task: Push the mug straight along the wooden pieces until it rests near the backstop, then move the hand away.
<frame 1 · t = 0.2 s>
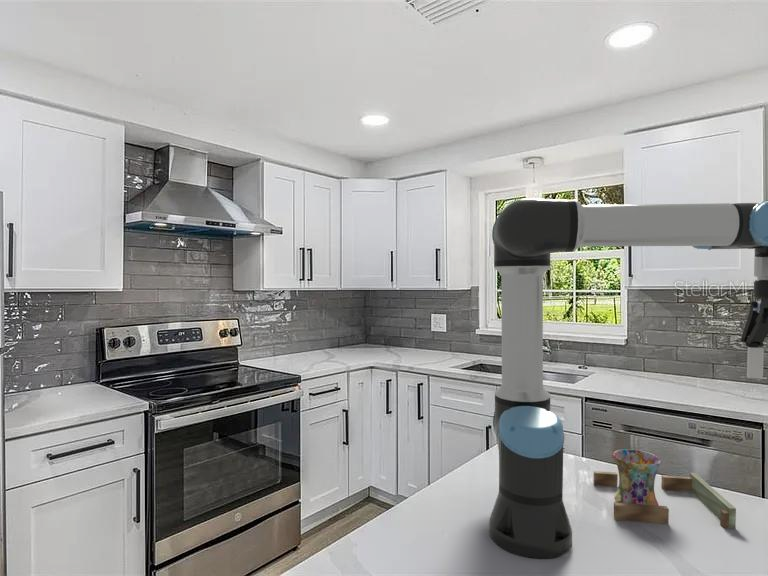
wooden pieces: (657, 503, 108), on the countertop
mug: (632, 503, 109), on the countertop
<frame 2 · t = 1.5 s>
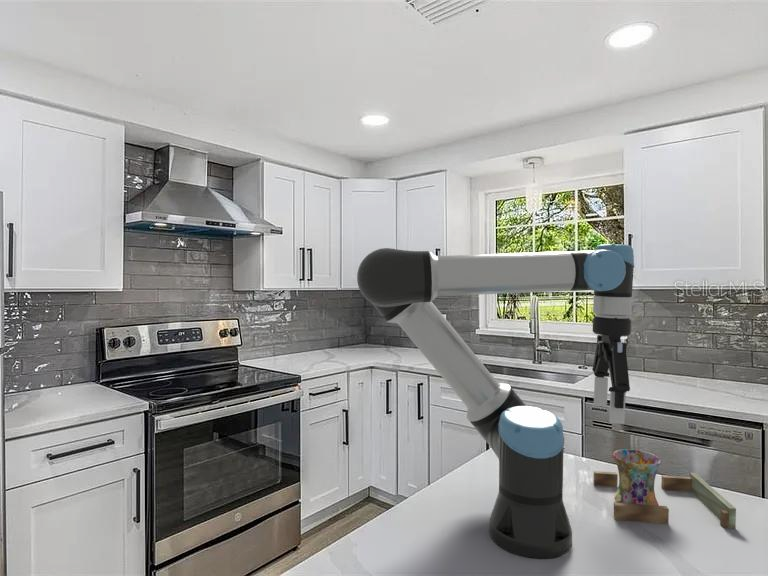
hand: (607, 413, 108), 19 cm above the countertop, fingers open, 13 cm apart
nothing on the countertop moved.
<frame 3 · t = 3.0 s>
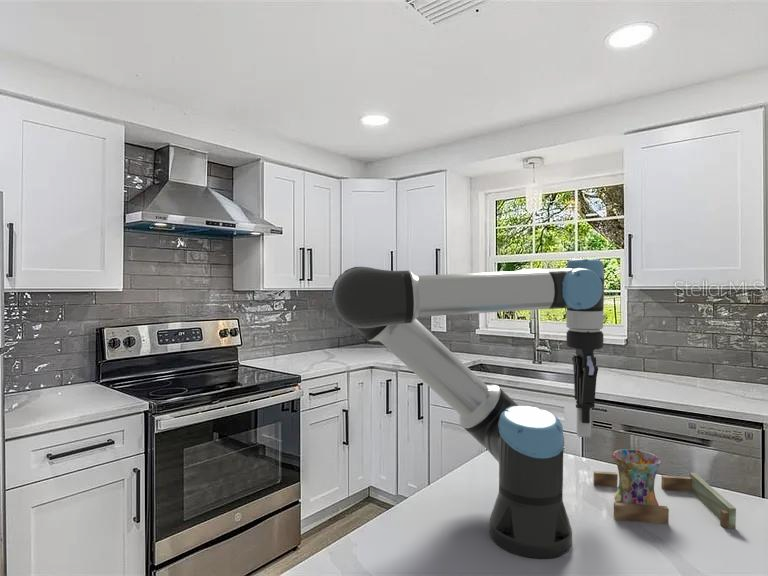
hand: (583, 435, 110), 14 cm above the countertop, fingers closed
nothing on the countertop moved.
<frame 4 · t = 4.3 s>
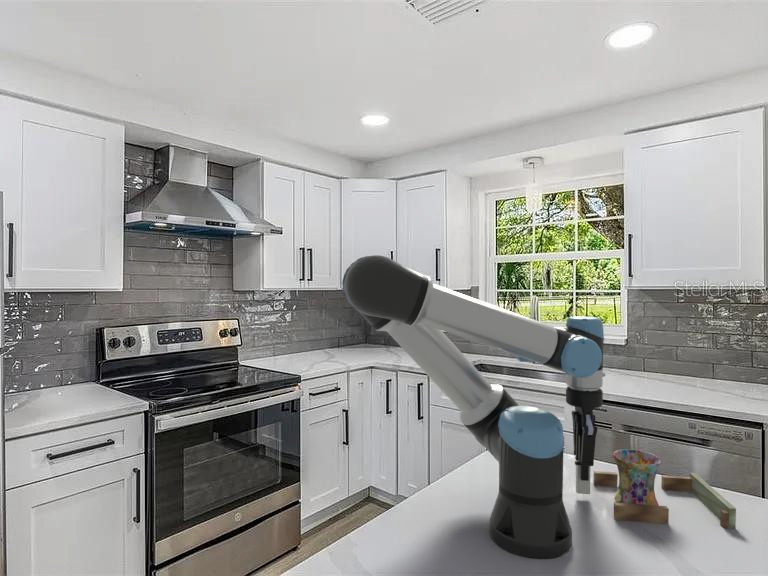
hand: (582, 492, 110), 1 cm above the countertop, fingers closed
nothing on the countertop moved.
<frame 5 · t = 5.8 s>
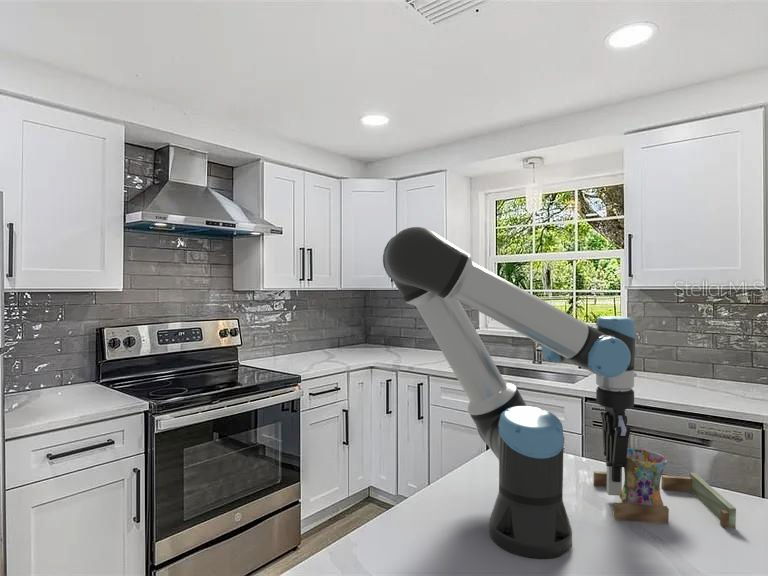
hand: (614, 493, 109), 2 cm above the countertop, fingers closed
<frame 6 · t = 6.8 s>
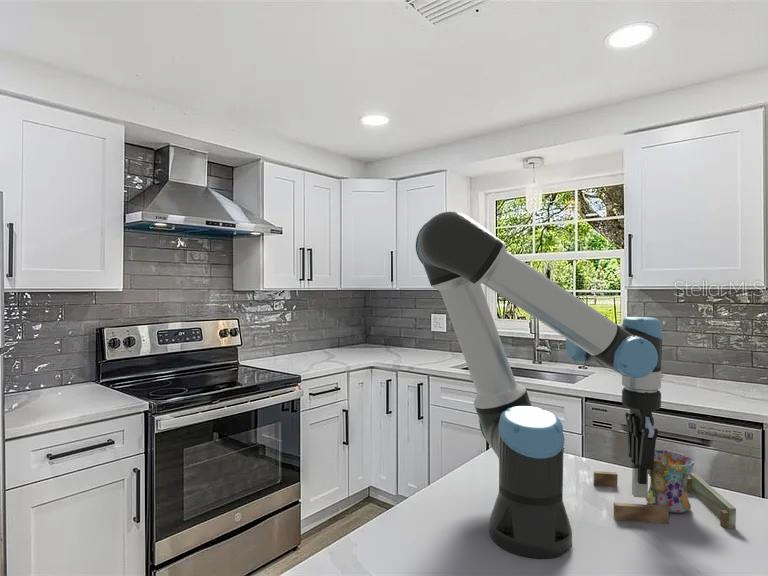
hand: (639, 495, 108), 2 cm above the countertop, fingers closed
mug: (662, 504, 108), on the countertop, touching gripper, hand
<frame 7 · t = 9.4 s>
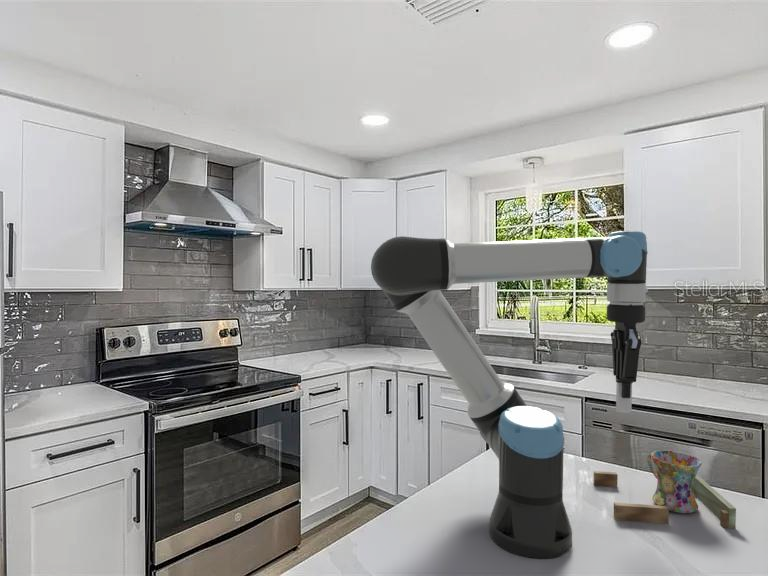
hand: (623, 411, 108), 20 cm above the countertop, fingers closed
mug: (669, 504, 108), on the countertop
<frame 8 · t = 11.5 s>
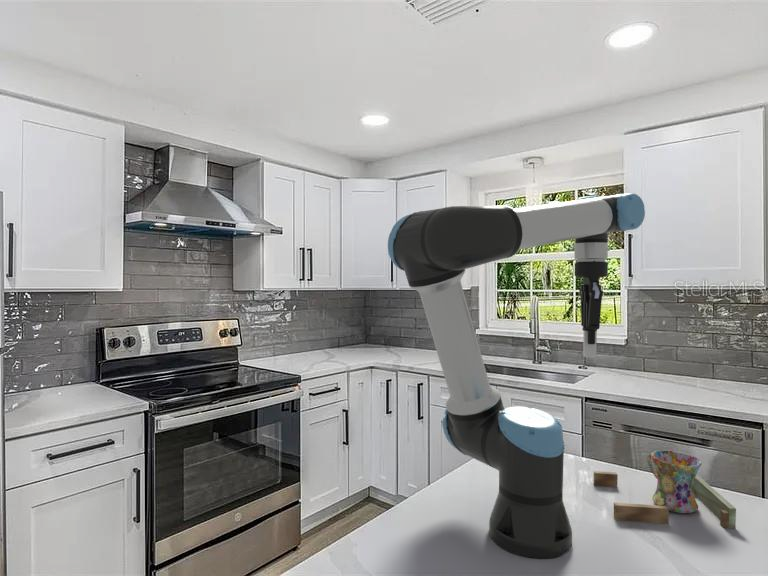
hand: (589, 356, 122), 29 cm above the countertop, fingers closed
nothing on the countertop moved.
at the end: mug inside the target area (2.6 cm from its centre), on the countertop; mug tilted 0° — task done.
